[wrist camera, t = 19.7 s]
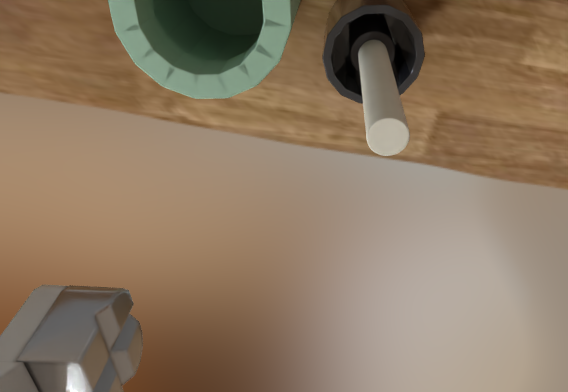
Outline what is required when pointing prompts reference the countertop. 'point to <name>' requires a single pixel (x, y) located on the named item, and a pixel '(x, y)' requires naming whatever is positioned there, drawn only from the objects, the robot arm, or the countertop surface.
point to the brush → (378, 84)
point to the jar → (205, 41)
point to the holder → (404, 35)
